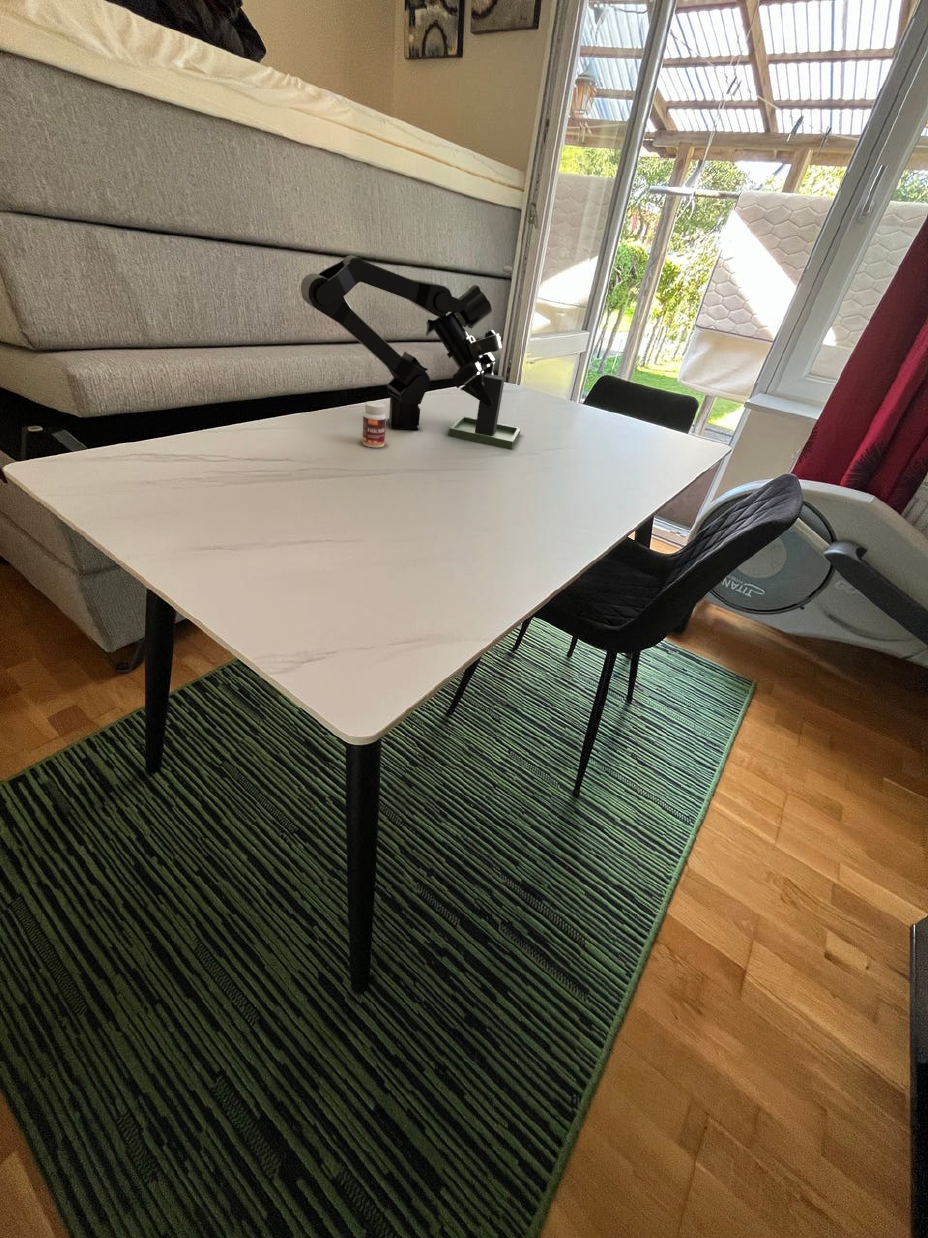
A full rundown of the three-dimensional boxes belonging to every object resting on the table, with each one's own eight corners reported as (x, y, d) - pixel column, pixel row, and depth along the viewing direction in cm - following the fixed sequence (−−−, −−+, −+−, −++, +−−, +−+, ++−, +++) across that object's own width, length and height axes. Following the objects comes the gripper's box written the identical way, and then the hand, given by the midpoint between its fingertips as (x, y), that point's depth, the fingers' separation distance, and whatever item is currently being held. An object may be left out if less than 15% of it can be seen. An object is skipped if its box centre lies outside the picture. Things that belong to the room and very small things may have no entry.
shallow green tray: (448, 435, 124) (449, 427, 123) (461, 422, 134) (462, 415, 133) (511, 449, 122) (512, 441, 121) (519, 435, 132) (520, 428, 131)
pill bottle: (366, 448, 109) (367, 407, 104) (359, 440, 112) (360, 400, 107) (387, 447, 111) (389, 407, 106) (380, 440, 114) (381, 400, 109)
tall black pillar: (474, 433, 126) (483, 376, 119) (478, 428, 129) (486, 373, 122) (492, 436, 126) (502, 379, 118) (495, 432, 129) (505, 376, 121)
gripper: (474, 320, 106) (516, 387, 111) (492, 313, 121) (528, 373, 126) (434, 355, 112) (475, 417, 117) (456, 344, 127) (492, 400, 132)
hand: (494, 400), depth 123 cm, fingers open, 9 cm apart
